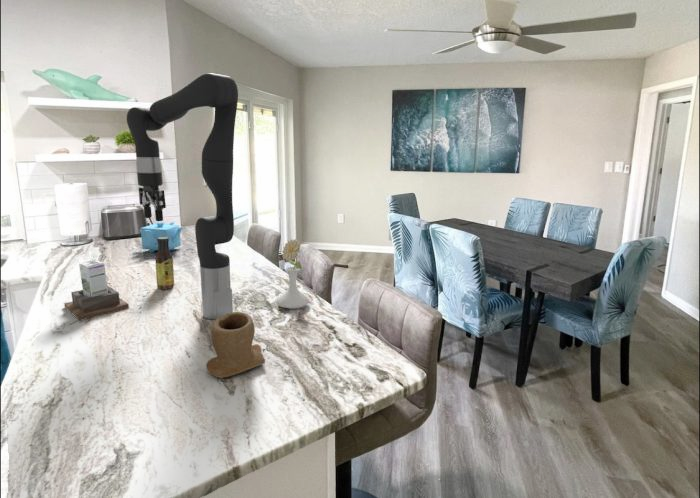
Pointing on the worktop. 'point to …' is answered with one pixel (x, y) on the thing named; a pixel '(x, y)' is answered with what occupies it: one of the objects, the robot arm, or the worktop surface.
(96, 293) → the syrup box
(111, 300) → the socket holder
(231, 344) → the stone cup
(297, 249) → the flower in vase
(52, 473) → the worktop surface
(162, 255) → the sauce bottle
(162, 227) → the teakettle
